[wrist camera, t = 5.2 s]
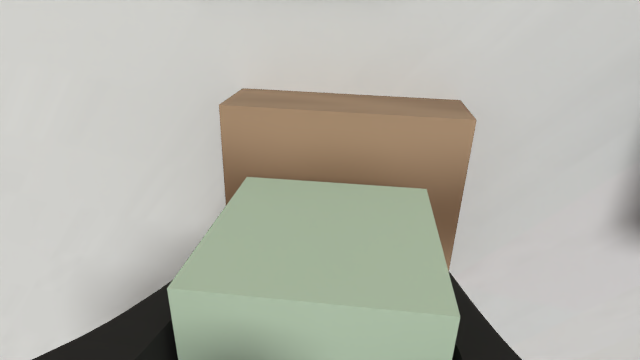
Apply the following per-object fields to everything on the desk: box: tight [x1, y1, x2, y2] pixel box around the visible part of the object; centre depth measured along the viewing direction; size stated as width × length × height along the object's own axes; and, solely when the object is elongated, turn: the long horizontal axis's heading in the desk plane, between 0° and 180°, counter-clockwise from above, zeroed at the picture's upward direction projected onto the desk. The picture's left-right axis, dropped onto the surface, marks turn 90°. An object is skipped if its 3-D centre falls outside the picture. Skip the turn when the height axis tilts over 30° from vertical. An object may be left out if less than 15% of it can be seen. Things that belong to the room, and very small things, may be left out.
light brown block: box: [219, 89, 476, 271], centre depth 16 cm, size 8×8×3 cm
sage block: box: [167, 177, 460, 360], centre depth 10 cm, size 5×5×5 cm
